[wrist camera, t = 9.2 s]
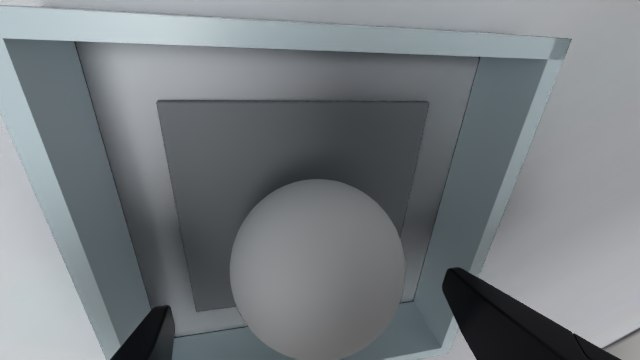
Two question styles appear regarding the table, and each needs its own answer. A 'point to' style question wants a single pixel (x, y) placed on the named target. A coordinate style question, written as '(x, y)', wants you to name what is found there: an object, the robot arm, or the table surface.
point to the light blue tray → (149, 28)
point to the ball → (317, 270)
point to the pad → (277, 166)
